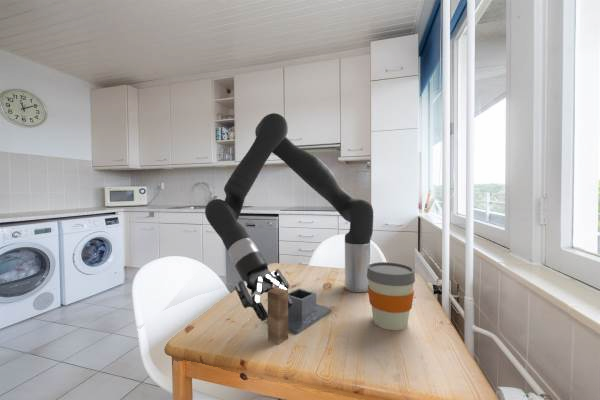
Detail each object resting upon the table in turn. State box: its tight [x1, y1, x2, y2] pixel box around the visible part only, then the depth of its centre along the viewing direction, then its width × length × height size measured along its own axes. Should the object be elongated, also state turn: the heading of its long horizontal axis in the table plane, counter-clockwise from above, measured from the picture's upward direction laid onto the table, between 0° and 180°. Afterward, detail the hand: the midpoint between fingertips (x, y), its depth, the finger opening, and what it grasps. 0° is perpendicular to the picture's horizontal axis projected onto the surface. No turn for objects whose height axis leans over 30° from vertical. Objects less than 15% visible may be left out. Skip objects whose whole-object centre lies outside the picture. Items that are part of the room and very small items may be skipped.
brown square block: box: [267, 287, 289, 345], centre depth 65 cm, size 4×4×12 cm
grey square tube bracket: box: [266, 288, 333, 335], centre depth 77 cm, size 16×11×6 cm
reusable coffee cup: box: [367, 261, 416, 331], centre depth 73 cm, size 12×13×15 cm
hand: (278, 312), depth 65 cm, fingers open, 8 cm apart
